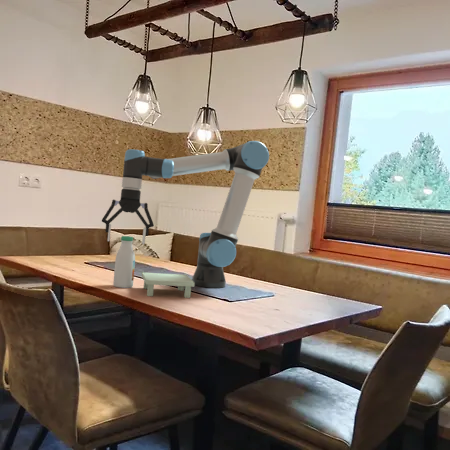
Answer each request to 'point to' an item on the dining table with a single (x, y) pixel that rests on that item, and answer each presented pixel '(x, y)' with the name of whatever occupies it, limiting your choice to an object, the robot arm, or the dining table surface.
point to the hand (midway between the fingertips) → (126, 242)
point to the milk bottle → (124, 264)
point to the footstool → (167, 282)
